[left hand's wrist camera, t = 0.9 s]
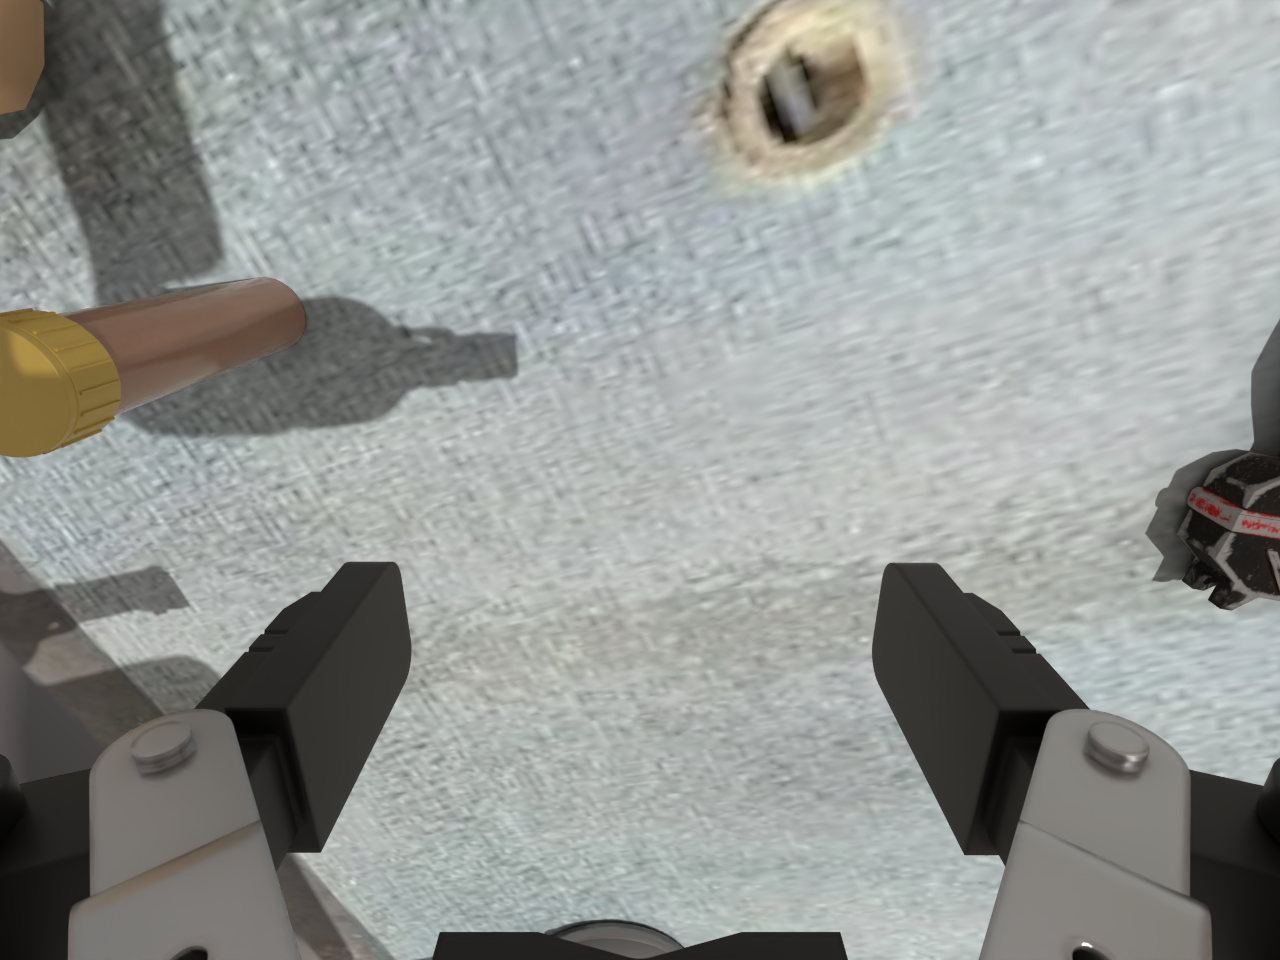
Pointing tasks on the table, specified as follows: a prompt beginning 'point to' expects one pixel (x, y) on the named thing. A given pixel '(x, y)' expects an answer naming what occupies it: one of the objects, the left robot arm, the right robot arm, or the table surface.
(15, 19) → the squash
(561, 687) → the table surface
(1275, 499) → the gun
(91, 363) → the lid
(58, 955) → the left robot arm
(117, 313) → the jar
